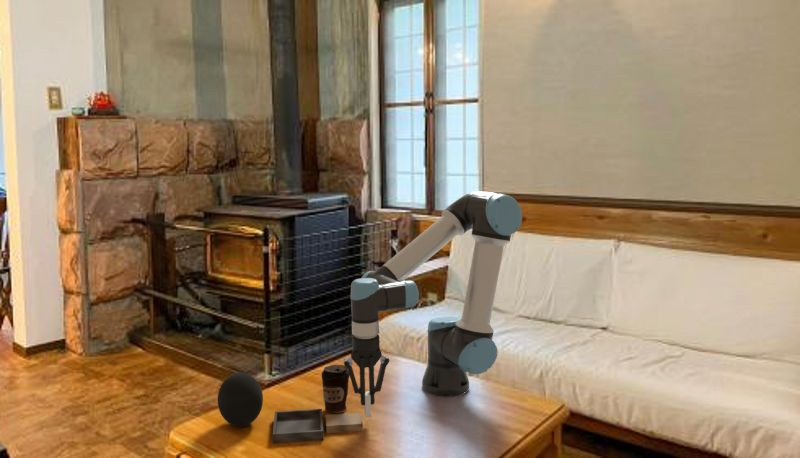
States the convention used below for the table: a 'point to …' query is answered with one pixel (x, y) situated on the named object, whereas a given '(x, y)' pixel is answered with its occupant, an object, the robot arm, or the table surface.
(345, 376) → the coffee cup
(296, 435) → the tray
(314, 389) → the table surface
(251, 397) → the decorative egg
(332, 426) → the beige rectangular box
